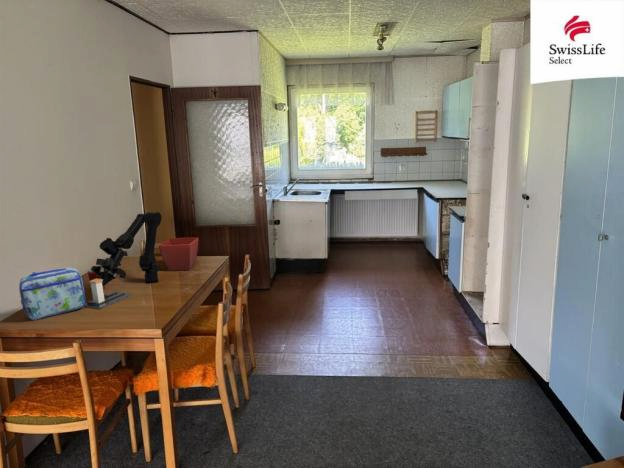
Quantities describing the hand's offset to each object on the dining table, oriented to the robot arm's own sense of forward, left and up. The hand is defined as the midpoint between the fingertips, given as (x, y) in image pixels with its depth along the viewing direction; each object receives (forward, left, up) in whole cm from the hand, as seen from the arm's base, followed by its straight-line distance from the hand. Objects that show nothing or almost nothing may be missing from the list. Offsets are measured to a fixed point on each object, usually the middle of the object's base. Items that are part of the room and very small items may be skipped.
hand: (100, 287), depth 230 cm
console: (-2, -3, -8) cm, 9 cm away
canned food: (+5, -26, -8) cm, 28 cm away
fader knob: (+1, +2, -7) cm, 7 cm away
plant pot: (-40, -47, -8) cm, 62 cm away
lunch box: (+20, +5, -8) cm, 22 cm away
